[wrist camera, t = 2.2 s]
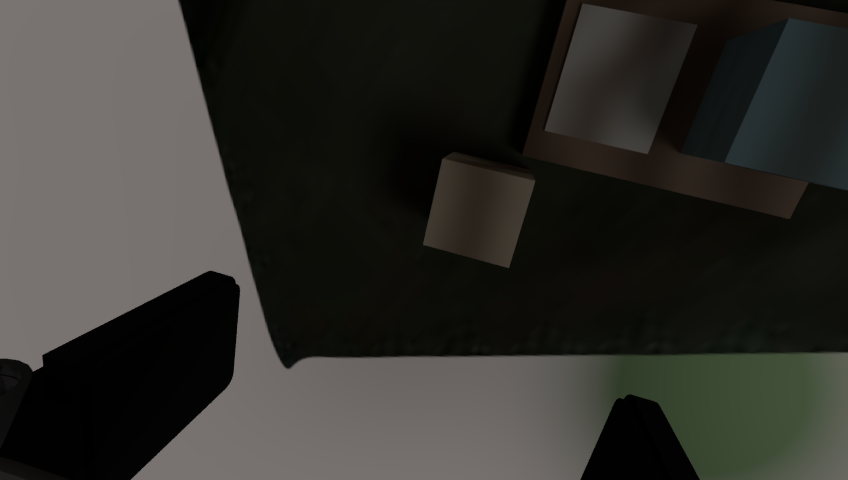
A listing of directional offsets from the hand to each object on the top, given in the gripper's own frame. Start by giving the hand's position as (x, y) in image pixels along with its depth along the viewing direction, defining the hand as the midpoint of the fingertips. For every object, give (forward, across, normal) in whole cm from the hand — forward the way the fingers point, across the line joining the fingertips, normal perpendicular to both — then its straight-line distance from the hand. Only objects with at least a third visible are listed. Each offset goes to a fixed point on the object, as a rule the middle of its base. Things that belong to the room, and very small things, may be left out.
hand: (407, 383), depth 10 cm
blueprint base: (+24, -11, -10) cm, 28 cm away
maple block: (+24, 0, 0) cm, 24 cm away
